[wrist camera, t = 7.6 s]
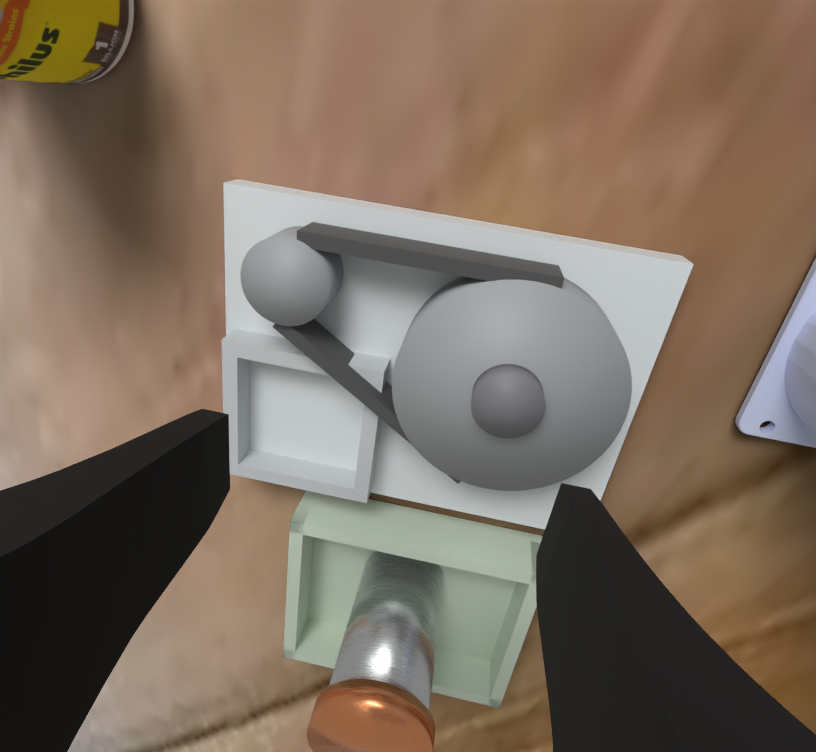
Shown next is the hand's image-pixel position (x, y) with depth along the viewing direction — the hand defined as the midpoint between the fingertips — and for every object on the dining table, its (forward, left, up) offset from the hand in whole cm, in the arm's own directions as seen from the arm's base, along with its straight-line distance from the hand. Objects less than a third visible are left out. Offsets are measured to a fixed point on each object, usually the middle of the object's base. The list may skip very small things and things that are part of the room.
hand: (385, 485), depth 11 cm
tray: (-1, +14, -10) cm, 17 cm away
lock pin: (-1, +13, -10) cm, 17 cm away
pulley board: (0, +2, -10) cm, 11 cm away
